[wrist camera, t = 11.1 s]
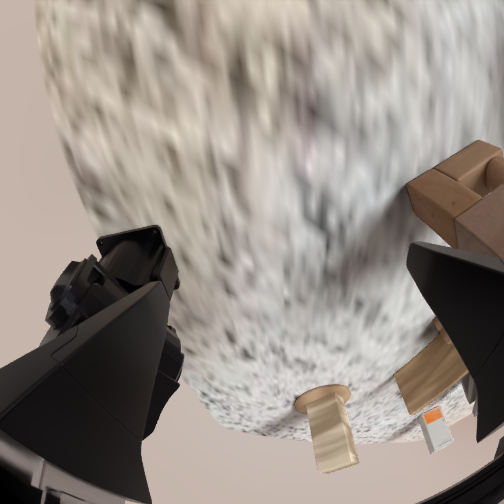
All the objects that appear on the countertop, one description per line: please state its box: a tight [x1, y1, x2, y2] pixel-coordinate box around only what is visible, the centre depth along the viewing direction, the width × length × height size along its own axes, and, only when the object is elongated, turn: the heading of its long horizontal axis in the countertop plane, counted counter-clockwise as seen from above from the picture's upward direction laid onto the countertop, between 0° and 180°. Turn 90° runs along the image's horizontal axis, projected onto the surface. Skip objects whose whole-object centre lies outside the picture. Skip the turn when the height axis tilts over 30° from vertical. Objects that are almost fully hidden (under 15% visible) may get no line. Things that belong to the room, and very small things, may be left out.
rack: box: [394, 333, 469, 415], centre depth 30 cm, size 6×17×8 cm, turn 149°
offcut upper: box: [440, 328, 453, 344], centre depth 28 cm, size 3×4×2 cm
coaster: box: [295, 385, 351, 414], centre depth 39 cm, size 9×9×1 cm
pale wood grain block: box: [306, 392, 359, 473], centre depth 33 cm, size 4×5×12 cm
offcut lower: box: [432, 317, 443, 331], centre depth 30 cm, size 4×4×2 cm
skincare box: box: [418, 406, 454, 454], centre depth 47 cm, size 6×4×12 cm
